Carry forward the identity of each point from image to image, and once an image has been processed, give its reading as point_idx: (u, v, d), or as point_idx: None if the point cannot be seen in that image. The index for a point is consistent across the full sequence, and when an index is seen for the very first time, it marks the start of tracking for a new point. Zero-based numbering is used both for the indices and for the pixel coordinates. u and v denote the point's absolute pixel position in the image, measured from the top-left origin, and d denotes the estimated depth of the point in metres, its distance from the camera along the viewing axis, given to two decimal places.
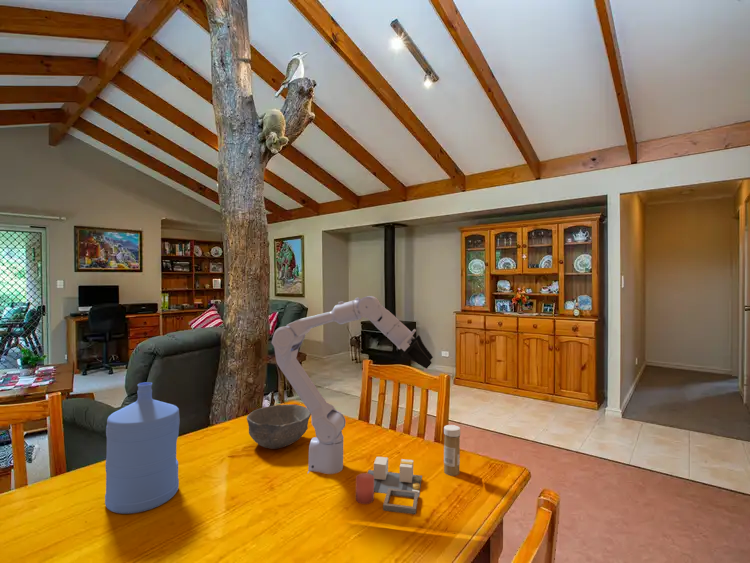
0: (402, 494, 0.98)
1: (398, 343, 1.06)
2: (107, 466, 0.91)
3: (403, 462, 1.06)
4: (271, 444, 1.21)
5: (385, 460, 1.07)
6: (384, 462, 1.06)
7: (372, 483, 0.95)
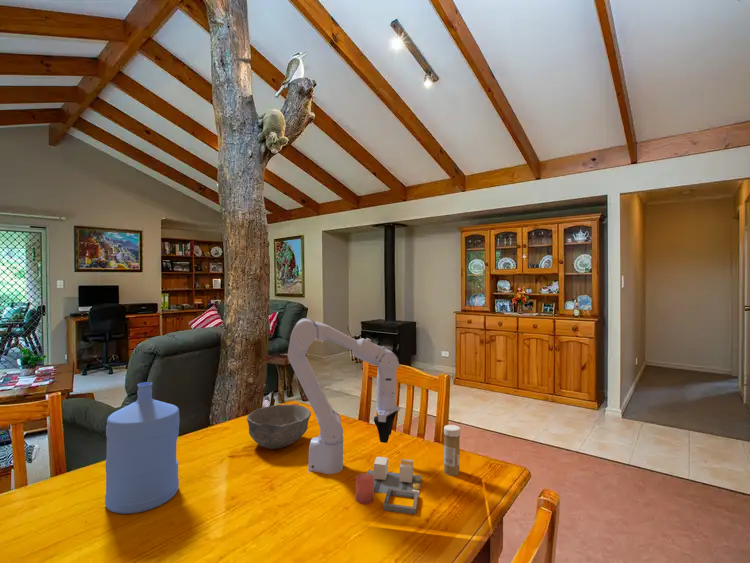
0: (402, 494, 0.98)
1: (379, 406, 1.13)
2: (107, 466, 0.91)
3: (403, 462, 1.06)
4: (271, 444, 1.21)
5: (385, 460, 1.07)
6: (384, 462, 1.06)
7: (372, 483, 0.95)
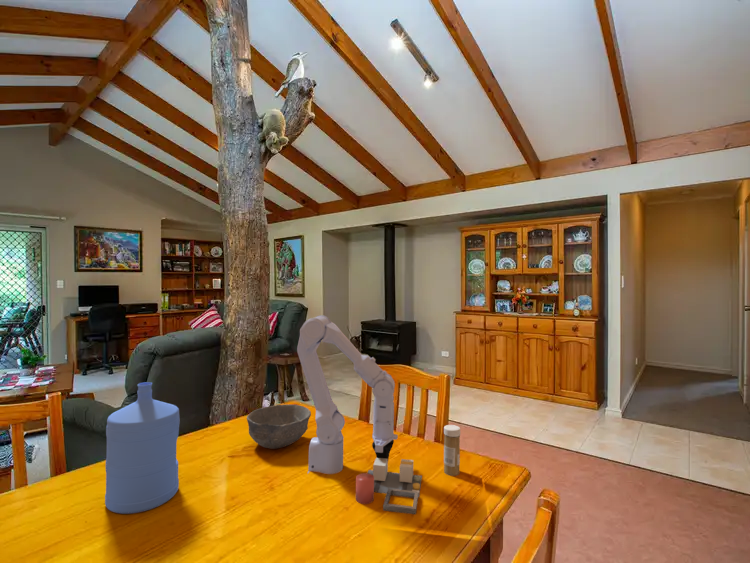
0: (402, 494, 0.98)
1: (376, 435, 1.08)
2: (107, 466, 0.91)
3: (403, 462, 1.06)
4: (271, 444, 1.21)
5: (385, 461, 1.07)
6: (384, 463, 1.05)
7: (372, 483, 0.95)
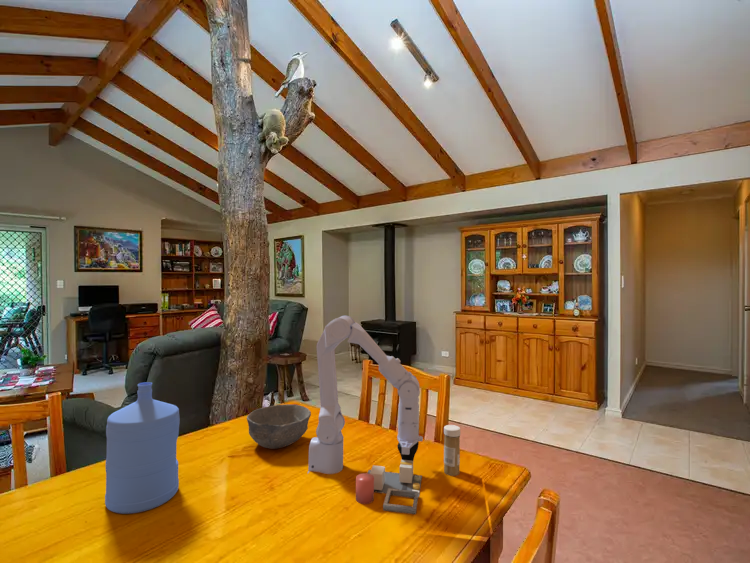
0: (402, 494, 0.98)
1: (401, 437, 1.07)
2: (107, 466, 0.91)
3: (403, 463, 1.06)
4: (271, 444, 1.21)
5: (382, 469, 1.02)
6: (381, 471, 1.01)
7: (372, 483, 0.95)
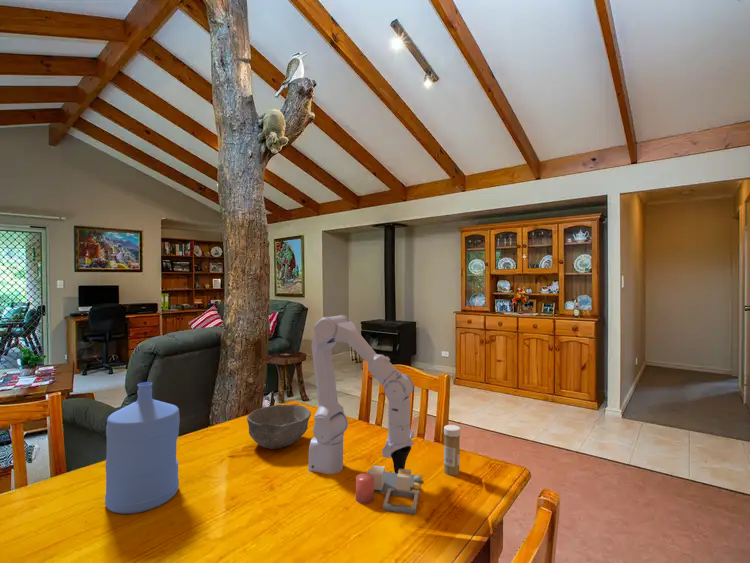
0: (402, 494, 0.98)
1: (389, 439, 1.02)
2: (107, 466, 0.91)
3: (401, 472, 1.01)
4: (271, 444, 1.21)
5: (382, 469, 1.02)
6: (381, 471, 1.01)
7: (372, 483, 0.95)
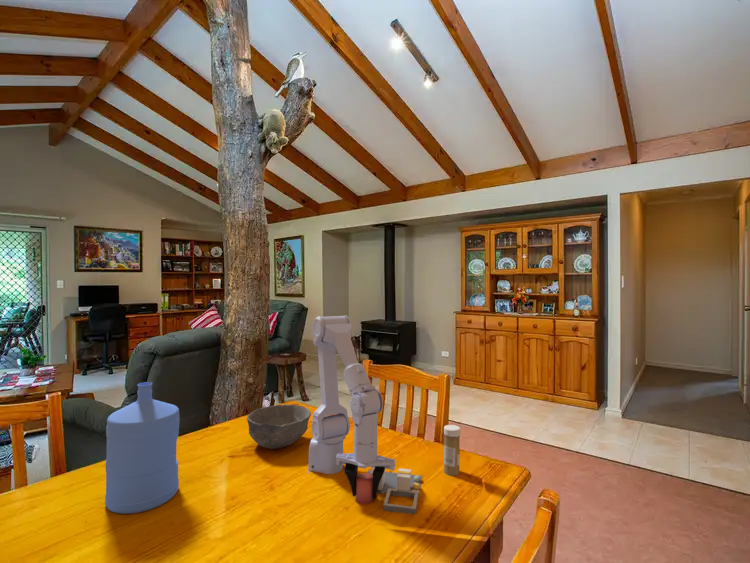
0: (402, 494, 0.98)
1: None
2: (107, 466, 0.91)
3: (401, 472, 1.01)
4: (271, 444, 1.21)
5: None
6: None
7: (372, 483, 0.95)
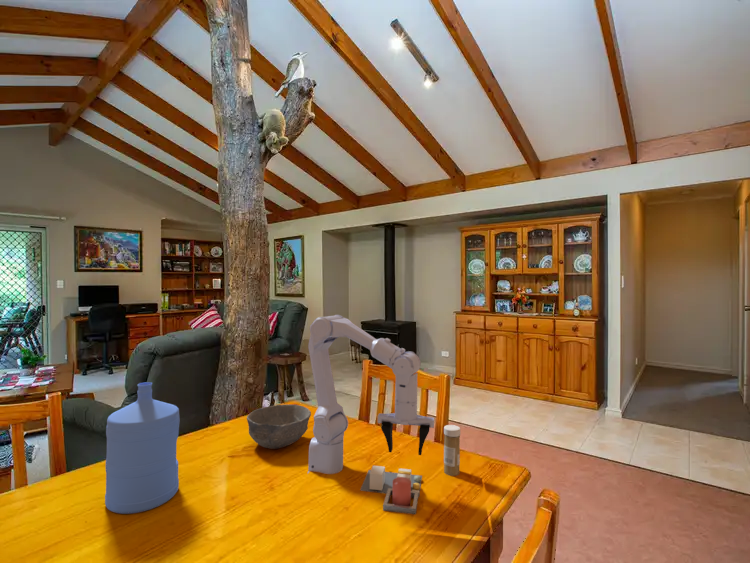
0: None
1: None
2: (107, 466, 0.91)
3: (401, 472, 1.01)
4: (271, 444, 1.21)
5: (382, 469, 1.02)
6: (381, 472, 1.01)
7: (409, 488, 0.93)
